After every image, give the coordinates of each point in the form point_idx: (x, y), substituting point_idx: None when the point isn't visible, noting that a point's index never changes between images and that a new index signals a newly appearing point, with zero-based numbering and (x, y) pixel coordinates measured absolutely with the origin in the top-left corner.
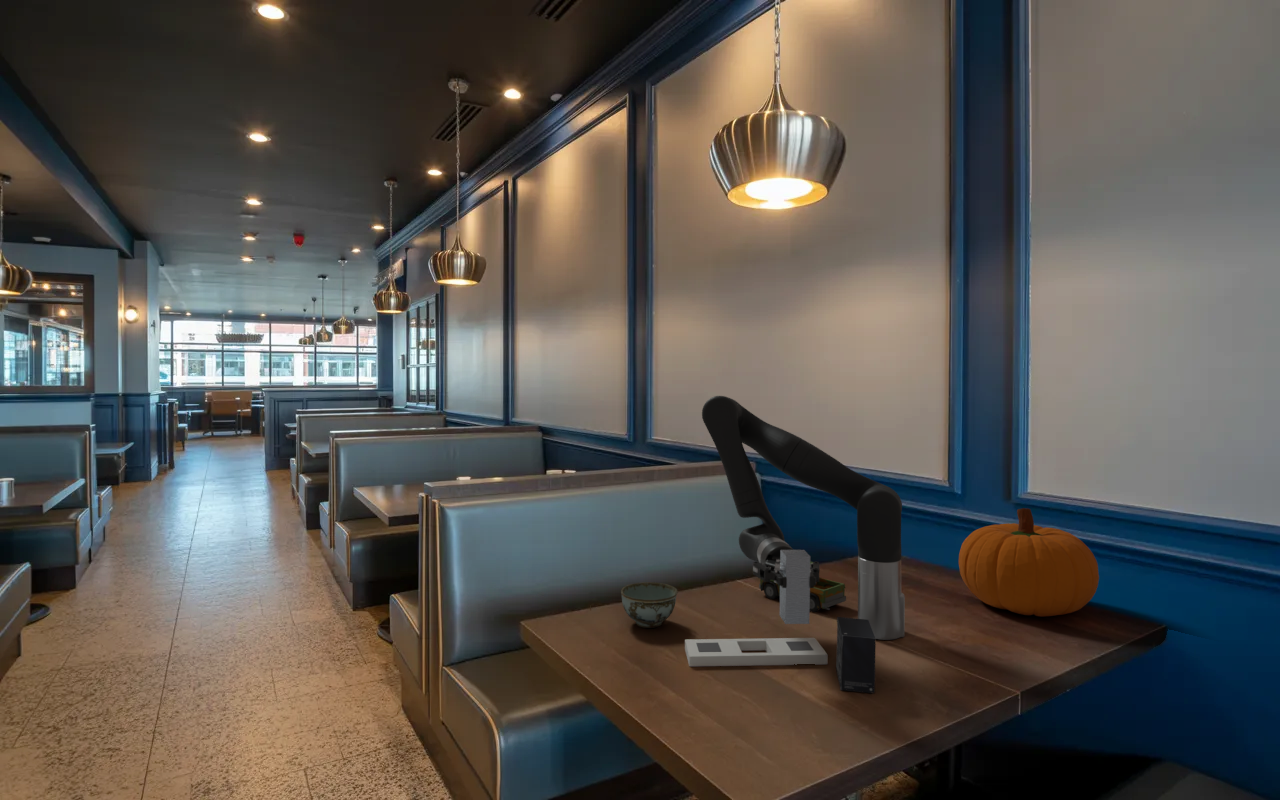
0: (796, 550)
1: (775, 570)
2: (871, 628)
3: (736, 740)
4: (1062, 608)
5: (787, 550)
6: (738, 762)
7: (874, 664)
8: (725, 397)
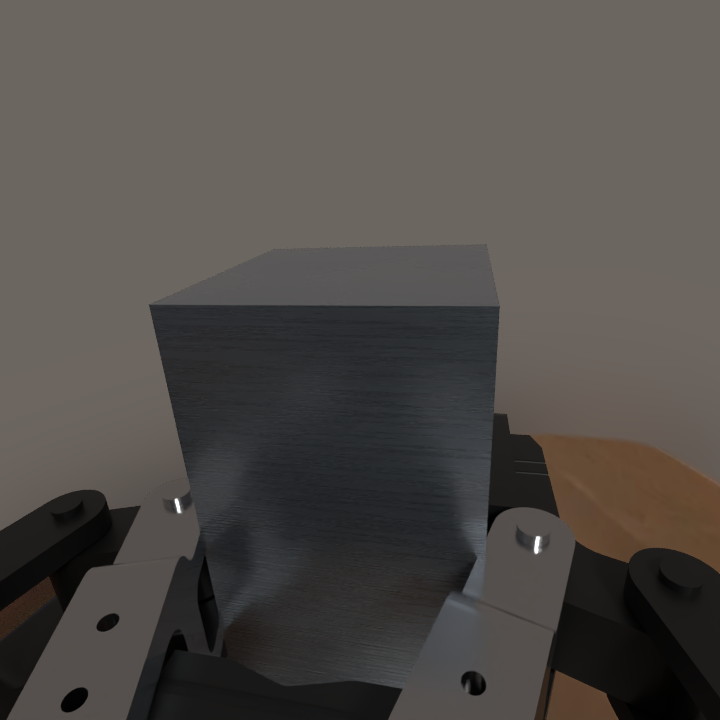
0: (271, 295)
1: (558, 519)
2: (35, 612)
3: (643, 532)
4: None
5: (398, 293)
6: (629, 481)
7: None
8: None
